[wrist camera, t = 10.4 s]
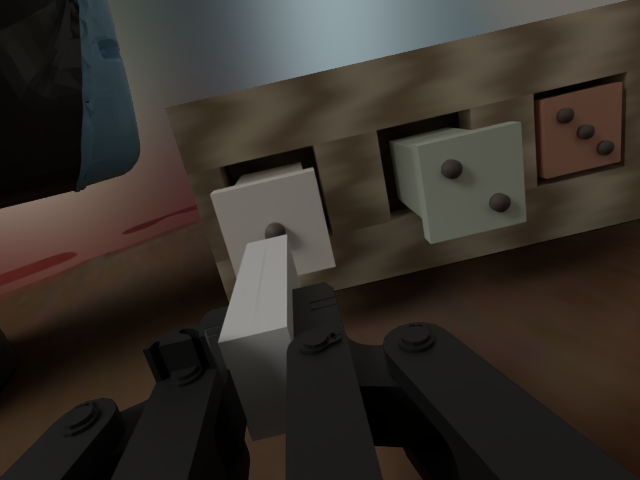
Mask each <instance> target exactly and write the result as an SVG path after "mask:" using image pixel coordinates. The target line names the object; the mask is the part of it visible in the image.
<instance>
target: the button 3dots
mask: <svg viewBox="0 0 640 480" xmlns="http://www.w3.org/2000/svg"><path fill="white" fill-rule="evenodd" d="M533 100H534V123H535V145H536V166H537V169H538V177H542V178H546V179H548V178H552V177H557V176H561V175H565V174H569V173H574V172H578V171H582V170H586V169H591V168H595V167H599V166H603V165H608V164H612V163H616V162H620V160H621V119H622V82H613V83H607V84H603V85H598V86H594V87H590V88H586V89H581V90H577V91H573V92H568V93H564V94H560V95H542V96H535V97H533Z"/></svg>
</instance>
